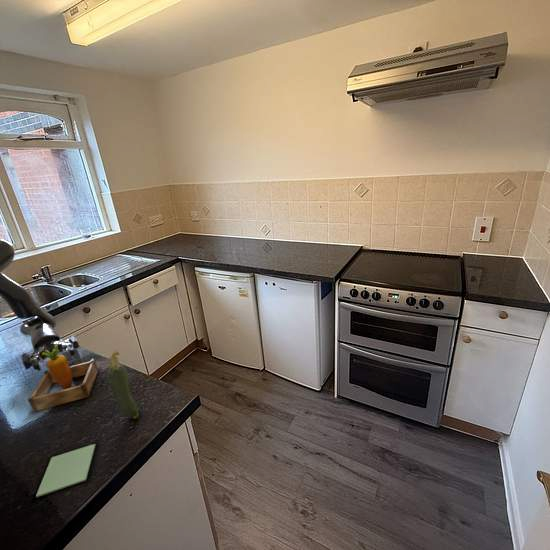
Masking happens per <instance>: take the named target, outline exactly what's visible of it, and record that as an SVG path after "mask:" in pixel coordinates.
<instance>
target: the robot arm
mask: <svg viewBox="0 0 550 550" xmlns="http://www.w3.org/2000/svg"><path fill="white" fill-rule="evenodd" d="M15 255H16V254H15V248H14V246H13V245H12V244H11V243H10V242H9V241H6V240H4V239H0V298H1V299H2V300H3V301H4V302H5V303H6V305H7V306H8V307H9V309H10V310H11V312H12V313H13V314H14V315H15V317H16V318H18V319H19V320H25V321H24V322H22V323H21V325H20V327H19V331H20V333H21V334H22V336H23V337H25V339H27V340H30V343H31V346H32V348H33V351H32V353H28V354H27V353H22V355H21V360H22V361H21V362H22V364H23V367H24V369H25V370H29V369H31V367H32V368H33V370H34V371H38V372H40V371H41V370H42V369H41V366H40V364H41V363H44V362H45V361H46V359H49V358H48V357H46V356H44V355H42V353H47V352H45V351H46V350H48V351H49V352H50V353H51V352H52V350H53V349H54V345H58V350H59V352H58V354H66V353H69V355H70V356H71V357H74V356H75V354H76V350H75V349H79V348H80V347H81V346H80V343H79V341H78V339H77V338H76V337H74V335H69V336H68V338H67V339H65V340H64V339H62V338H61V336H60V334H59V333H58V332H57V331H56V330H55V329H56V327H57V320H56V318H55V317H54V316H53V315H51V314H50V313H49V312H47V311H46V310H44V309H43V308H42V307H41V306H40V305H39V304H38V302H37V301H36V300H35V298H34V297H33V295H32V294H31V293H30V292H29V290H28V289H26V288H25V287H24V286H22V285H21V284H19V283H17V282H16V281H14V280H12V279H11V278H9V277H8V276H7V275H5V274H4V273H3V272H4V271H5V270H6V269H7V268H8V267H9V266H10V265H11V264H12V263H13V261H14V258H15ZM27 319H28V320H27ZM47 354H48V353H47ZM51 355H52V354H51Z"/></svg>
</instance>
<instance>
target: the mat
mask: <svg viewBox="0 0 550 550" xmlns="http://www.w3.org/2000/svg"><path fill="white" fill-rule="evenodd" d="M95 449H96V443H94V444H90V445H87V446H84V447H80V448H77V449H74V450H70V451H67V452H64V453H62V454H61V453H60V454H59V455H55V456H51V458H50V461H49V463H48V466H47V468H46V471H45V473H44V474H43V475H44V476H43V478H42V480H41V483H40V485H39V487H38V490H37V493H36V495H35V497H36V498H39V497H42V496H45V495H48V494H51V493H54V492H56V491H59V490H62V489H65V488H68V487H72V486H74V485H77V484H80V483H82V482H86V481H87V479H88V475H89V471H90V467H91V464H92V460H93V456H94V453H95Z"/></svg>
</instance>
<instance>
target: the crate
mask: <svg viewBox="0 0 550 550" xmlns="http://www.w3.org/2000/svg"><path fill="white" fill-rule="evenodd" d="M69 366H70V369H71V374H72V379H74V378H79V377H82V376H84V378H83V380H82V383H80V384H79V385H76V386H71V387H70V388H68V389H65V388H63V389H60V390H57V391H53V392H49V391H50V389H51V387H52V385H53V384H57V382H56V381H55V379H54V378H53V377H52V375H51V373H50V372H49V370H48V369H47V370H45V371H44V372H43V374H44V375H43V376H42V378H41V379H40V381H39V383H38V385H37V386H36V388H35V390H34V391H33V392H32V394H31V396H30V397H28V398H27V401H28V404H29V405H30V407H31V409H32V411H33V413H36V412H39V411H42V410H45V409H49V408H52V407H57V406H59V405H63V404H67V403H71V402H74V401H77V400H82V399H86V398H89V397H90V395H91V391H92V388H93V386H94V383H95V380H96V377H97V374H98V372H99V368H98V365H97V363H96V360H95V358H92V359H90V360H89V361H86V362H85V361H84V362H81V363H77V364H74V365H69Z"/></svg>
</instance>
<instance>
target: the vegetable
mask: <svg viewBox="0 0 550 550" xmlns="http://www.w3.org/2000/svg"><path fill="white" fill-rule="evenodd" d="M118 356H120V352H119V351H118V350H114V351H113V352H112V354H111V355H110V357H109V369H108V370H107V372H106V378H107V382H108V385H109V387H110V389H111V391H112V395H113V397H114V399H115V401H116V404H117V407H118V409H119V410H120V411H121V413H122V414H123V416H124V417H126V418H129V419H133V420H134V419H138V417H139V410H138V405H137V404H136V402H135V400H134V398H133V395H132V394H131V390H130V382H129V374H128V370H127V369H126V367H125V366H124V365H123V364H121V363H120V361H119V358H118Z"/></svg>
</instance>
